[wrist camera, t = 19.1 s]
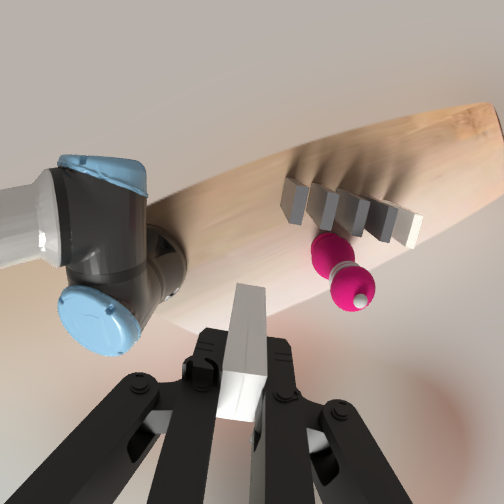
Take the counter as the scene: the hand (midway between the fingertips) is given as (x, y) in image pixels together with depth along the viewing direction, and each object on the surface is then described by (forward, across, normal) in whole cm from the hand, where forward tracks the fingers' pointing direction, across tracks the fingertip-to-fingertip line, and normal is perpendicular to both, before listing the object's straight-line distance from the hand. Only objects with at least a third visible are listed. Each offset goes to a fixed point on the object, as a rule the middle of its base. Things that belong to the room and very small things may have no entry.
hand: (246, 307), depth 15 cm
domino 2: (+34, +9, +2) cm, 36 cm away
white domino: (+34, +23, +2) cm, 41 cm away
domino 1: (+34, +5, +2) cm, 35 cm away
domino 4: (+34, +18, +2) cm, 39 cm away
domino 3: (+34, +14, +2) cm, 37 cm away
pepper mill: (+35, +14, -6) cm, 38 cm away
